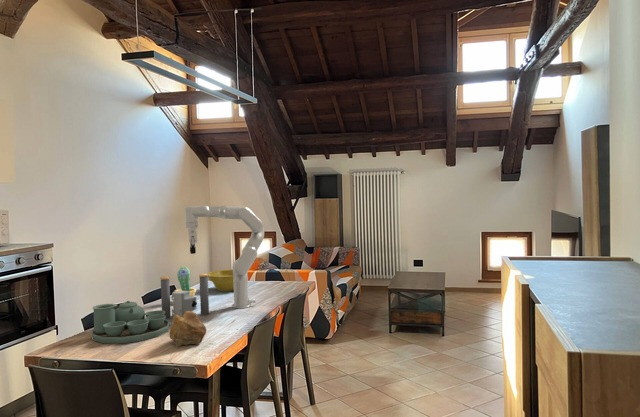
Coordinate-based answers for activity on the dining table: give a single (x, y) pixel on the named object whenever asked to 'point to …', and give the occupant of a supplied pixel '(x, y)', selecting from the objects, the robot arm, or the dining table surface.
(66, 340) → the dining table surface
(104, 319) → the tea set
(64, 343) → the dining table surface
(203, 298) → the post
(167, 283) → the post
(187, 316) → the rough brown rock
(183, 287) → the potted cactus
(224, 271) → the planter bowl
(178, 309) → the circuit breaker
